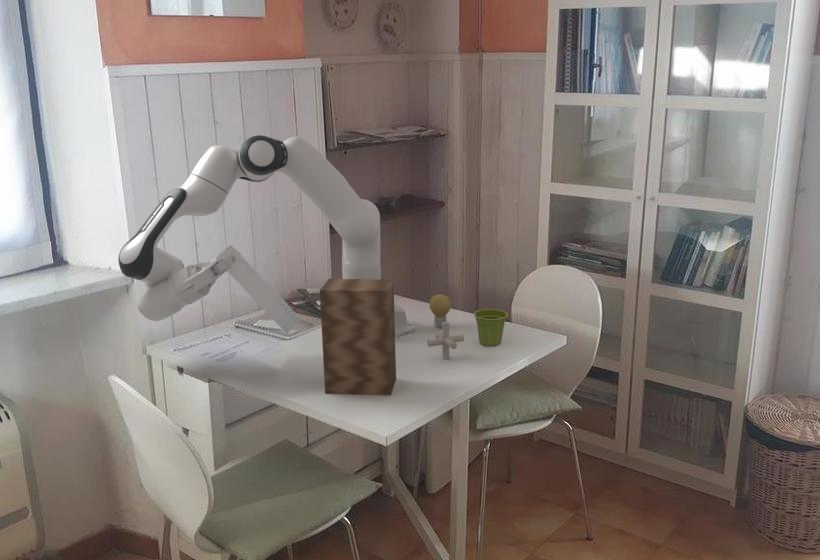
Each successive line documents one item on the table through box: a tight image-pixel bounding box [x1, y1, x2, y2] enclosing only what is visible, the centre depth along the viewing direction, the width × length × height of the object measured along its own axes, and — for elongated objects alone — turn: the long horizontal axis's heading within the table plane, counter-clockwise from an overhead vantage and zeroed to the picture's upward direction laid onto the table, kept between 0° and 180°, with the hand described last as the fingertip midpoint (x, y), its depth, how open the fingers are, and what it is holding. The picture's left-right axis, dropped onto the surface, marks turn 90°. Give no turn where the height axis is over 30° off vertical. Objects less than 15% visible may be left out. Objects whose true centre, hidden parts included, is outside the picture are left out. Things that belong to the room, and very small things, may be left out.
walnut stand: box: [319, 278, 397, 396], centre depth 188 cm, size 16×10×26 cm, turn 84°
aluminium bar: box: [214, 244, 302, 334], centre depth 197 cm, size 26×4×4 cm
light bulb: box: [429, 293, 452, 329], centre depth 232 cm, size 6×6×10 cm
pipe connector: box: [427, 321, 465, 360], centre depth 207 cm, size 10×10×10 cm
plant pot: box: [473, 308, 509, 347], centre depth 218 cm, size 9×9×9 cm
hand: (236, 256), depth 196 cm, fingers closed on aluminium bar, 4 cm apart
